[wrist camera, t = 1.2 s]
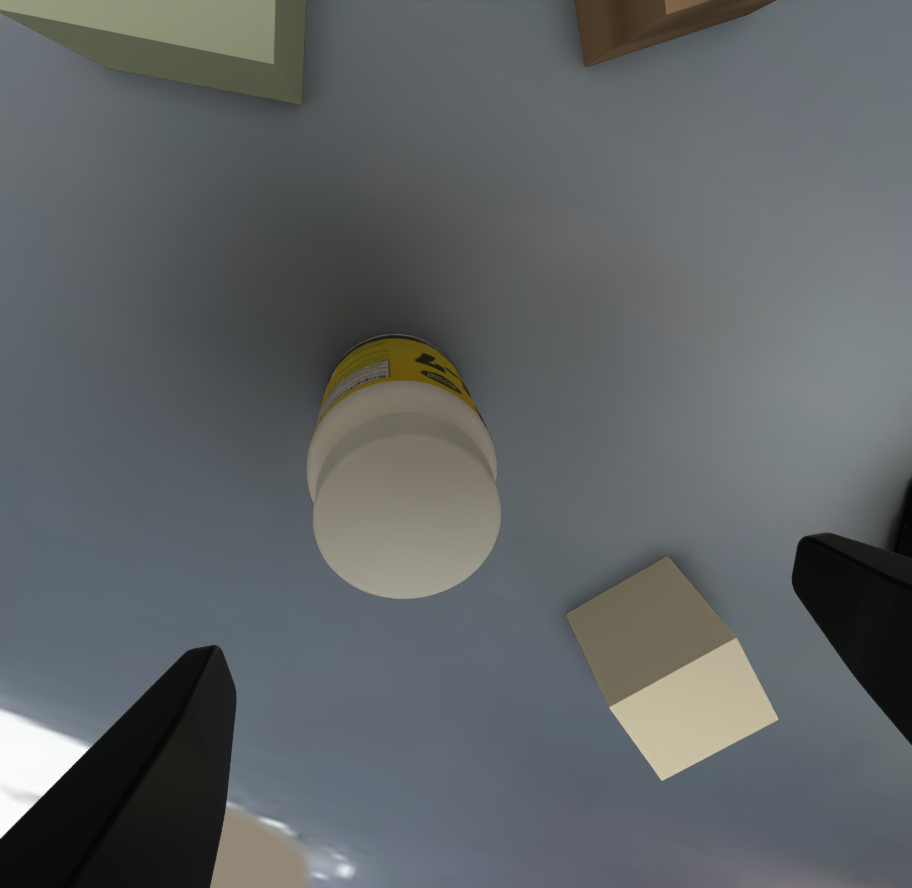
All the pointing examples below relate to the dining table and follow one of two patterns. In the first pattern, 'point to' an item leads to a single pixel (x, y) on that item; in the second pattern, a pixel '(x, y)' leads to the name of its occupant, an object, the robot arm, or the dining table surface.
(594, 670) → the cream block
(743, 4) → the walnut block
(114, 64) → the sage block
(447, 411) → the supplement bottle
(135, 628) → the dining table surface
